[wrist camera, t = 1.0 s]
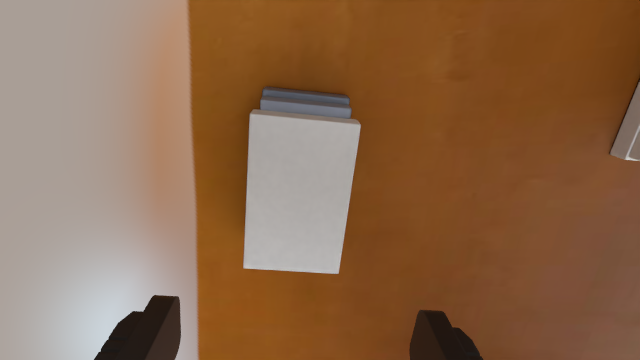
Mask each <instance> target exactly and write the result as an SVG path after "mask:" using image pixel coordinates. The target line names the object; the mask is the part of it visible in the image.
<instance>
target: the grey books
mask: <svg viewBox="0 0 640 360" xmlns="http://www.w3.org/2000/svg"><path fill="white" fill-rule="evenodd" d="M349 101H350V99H349V97H348V96H347V95H341V94H331V93H322V92H313V91H303V90H294V89H284V88H275V87H265V88H264V89H263V91H262V99H261V100H260V110H267V111H277V112H287V113H297V114H307V115H317V116H327V117H337V118H347V119H350V118H351V111H352V109H351V108H350V107H349Z"/></svg>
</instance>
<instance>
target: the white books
mask: <svg viewBox="0 0 640 360" xmlns="http://www.w3.org/2000/svg"><path fill="white" fill-rule="evenodd" d="M610 154H611V155H613V156H616V157H619V158H622V159H625V160H635V161H640V81H639V83H638V86H637V88H636V91H635V93H634V96H633V98H632V100H631V103H630V105H629V108H628V110H627V113H626V115H625V118H624V120H623V123H622V125H621V127H620V130H619V132H618V135H617V137H616V140H615V142H614V145H613V147H612V150H611V152H610Z"/></svg>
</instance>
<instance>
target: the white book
mask: <svg viewBox="0 0 640 360" xmlns="http://www.w3.org/2000/svg"><path fill="white" fill-rule="evenodd" d="M360 128H361V124H360V123H359V122H358V121H357V120H356V119H347V118H337V117H327V116H317V115H307V114H297V113H287V112H277V111H267V110H257V109H253V110H252V112H251V113H250V119H249V143H248V167H247V192H246V216H245V240H244V265H243V267H244V268H249V269H265V270H282V271H299V272H315V273H332V274H338V273H339V267H340V260H341V253H342V247H343V240H344V234H345V227H346V220H347V214H348V207H349V200H350V194H351V187H352V181H353V174H354V167H355V161H356V154H357V148H358V141H359V134H360Z"/></svg>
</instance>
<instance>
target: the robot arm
mask: <svg viewBox="0 0 640 360" xmlns="http://www.w3.org/2000/svg"><path fill="white" fill-rule="evenodd" d="M180 338H181V325H180V300H179V297H177V296H158V295H154V296H153V297H152V298H151V300H150V301H149V303H148V305H147V306H146V308H145V310H144V311H143V312H137V311H136V312H135V311H133V312H132V313H130V314H129V315H128V316H127V317H125V318H124V319H123V320H122V321H120V322H119V323H118V324H117V326H116V327H115V329H114V330H113V332H112V333H111V335H110V336H109V339H108V340H107V341H106V342H105V344H104V345H103V347H102V348H101V352H99V353H98V354H97V356H96V357H95V359H94V360H175V358H176V355H177V352H178V349H179V344H180ZM410 360H483V358H482V357H481V356H480V353H479V351H478V350H477V348H476V346H475V345H474V343H473V341H472V340H471V339H470V338H469V337H468V336H467V335H466V334H465V333H464V332H463V331H462V330H461V329H460V328H453V327H452V326H451V324H450V322H449V320H448V318H447V317H446V315H445V313H444V312H443V311H432V310H420V311H419V312H418V315H417V319H416V323H415V327H414V331H413V335H412V339H411V343H410Z"/></svg>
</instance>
